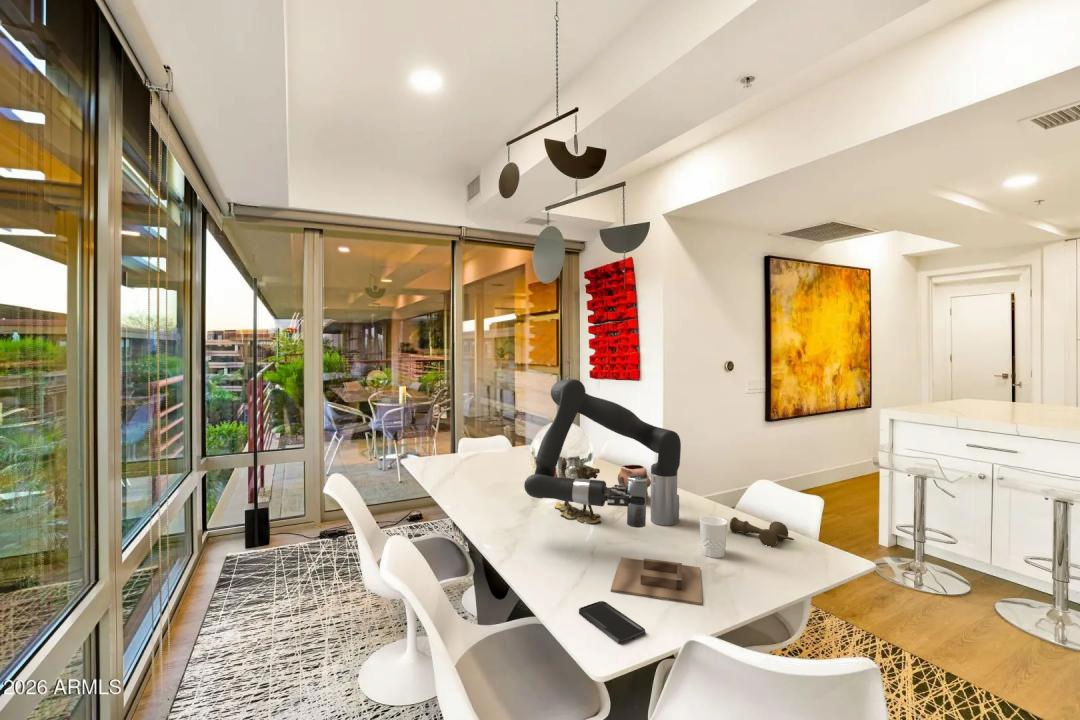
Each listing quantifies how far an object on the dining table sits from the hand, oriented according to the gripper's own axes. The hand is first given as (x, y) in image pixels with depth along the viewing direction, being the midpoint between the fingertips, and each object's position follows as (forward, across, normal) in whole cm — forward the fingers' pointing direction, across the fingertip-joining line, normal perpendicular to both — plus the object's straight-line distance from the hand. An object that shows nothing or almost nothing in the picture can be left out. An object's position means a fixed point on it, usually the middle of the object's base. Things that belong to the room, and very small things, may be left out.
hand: (645, 498), depth 141 cm
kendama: (+35, +27, +18) cm, 48 cm away
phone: (-4, -37, +19) cm, 41 cm away
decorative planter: (-10, +57, +18) cm, 61 cm away
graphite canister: (-3, 0, +8) cm, 8 cm away
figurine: (-28, +32, +18) cm, 46 cm away
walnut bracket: (+6, -12, +18) cm, 22 cm away
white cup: (+20, +10, +18) cm, 28 cm away
